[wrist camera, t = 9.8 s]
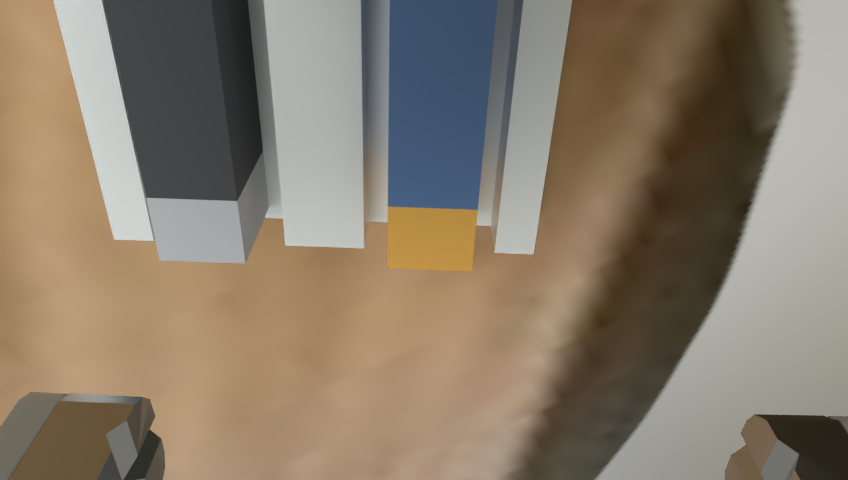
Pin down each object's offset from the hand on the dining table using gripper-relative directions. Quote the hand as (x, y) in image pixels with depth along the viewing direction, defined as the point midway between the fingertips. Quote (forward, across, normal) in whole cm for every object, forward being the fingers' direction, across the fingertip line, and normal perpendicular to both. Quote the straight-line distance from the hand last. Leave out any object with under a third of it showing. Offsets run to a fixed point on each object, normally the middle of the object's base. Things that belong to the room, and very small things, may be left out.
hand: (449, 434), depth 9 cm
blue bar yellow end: (+17, 0, 0) cm, 17 cm away
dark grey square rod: (+17, +8, 0) cm, 19 cm away
